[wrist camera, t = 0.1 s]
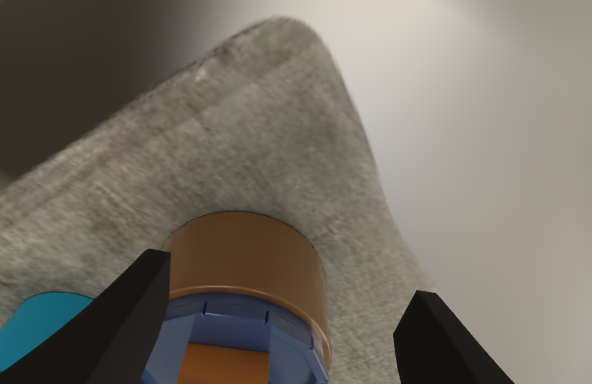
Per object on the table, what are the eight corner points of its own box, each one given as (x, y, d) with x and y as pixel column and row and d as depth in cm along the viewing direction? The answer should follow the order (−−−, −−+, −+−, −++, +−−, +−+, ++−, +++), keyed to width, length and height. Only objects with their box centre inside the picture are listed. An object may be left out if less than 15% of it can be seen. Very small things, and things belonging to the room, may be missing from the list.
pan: (304, 341, 28) (306, 447, 21) (156, 321, 26) (114, 428, 20) (343, 227, 22) (362, 328, 16) (158, 196, 21) (100, 291, 15)
